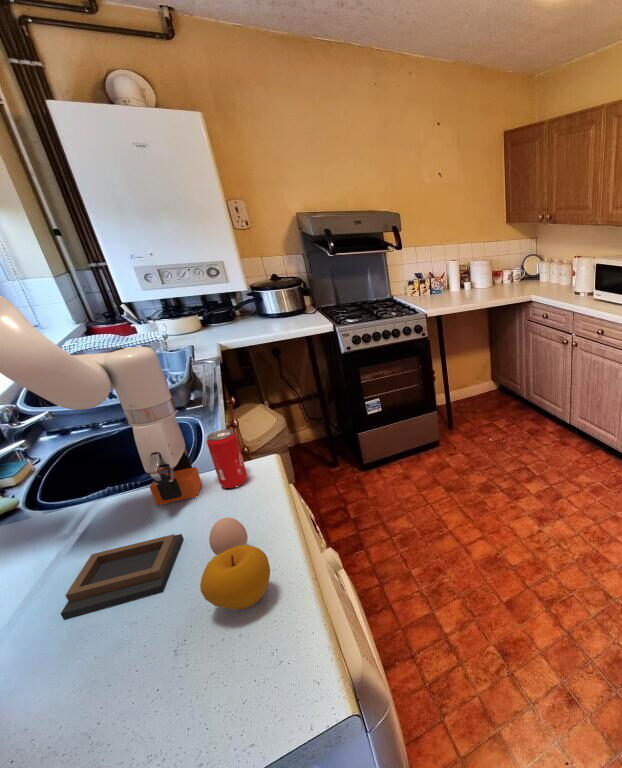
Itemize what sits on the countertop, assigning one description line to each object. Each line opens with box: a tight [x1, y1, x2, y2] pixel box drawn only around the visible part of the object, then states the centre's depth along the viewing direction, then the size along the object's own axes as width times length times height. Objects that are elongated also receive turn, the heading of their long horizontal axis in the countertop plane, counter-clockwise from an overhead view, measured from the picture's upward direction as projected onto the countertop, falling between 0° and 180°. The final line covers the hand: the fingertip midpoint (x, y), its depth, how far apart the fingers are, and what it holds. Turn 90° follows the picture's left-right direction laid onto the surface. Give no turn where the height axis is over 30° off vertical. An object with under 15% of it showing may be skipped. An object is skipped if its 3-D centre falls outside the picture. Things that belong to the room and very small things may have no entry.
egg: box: [208, 517, 248, 556], centre depth 73 cm, size 5×5×7 cm
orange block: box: [149, 466, 203, 506], centre depth 91 cm, size 7×5×4 cm
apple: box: [200, 544, 271, 611], centre depth 64 cm, size 8×8×9 cm
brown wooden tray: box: [60, 533, 184, 620], centre depth 71 cm, size 12×13×3 cm
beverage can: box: [206, 428, 248, 489], centre depth 93 cm, size 5×5×12 cm
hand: (179, 484), depth 91 cm, fingers open, 9 cm apart
